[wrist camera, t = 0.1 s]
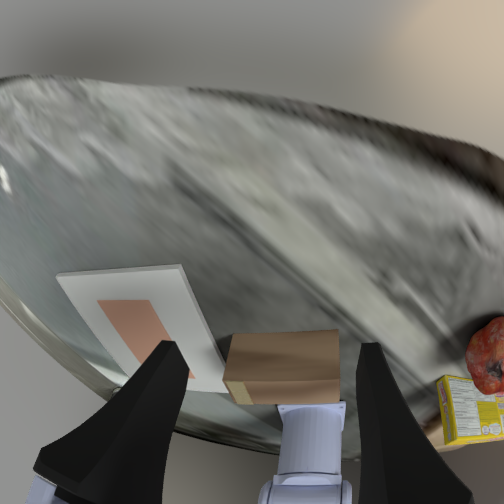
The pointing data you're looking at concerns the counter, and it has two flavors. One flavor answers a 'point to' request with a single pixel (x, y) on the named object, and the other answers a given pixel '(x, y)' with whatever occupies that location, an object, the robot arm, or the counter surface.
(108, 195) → the counter surface
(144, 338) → the mat
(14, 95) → the counter surface
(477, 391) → the candy box
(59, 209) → the counter surface
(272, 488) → the robot arm
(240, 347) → the walnut block
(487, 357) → the pomegranate
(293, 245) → the counter surface
